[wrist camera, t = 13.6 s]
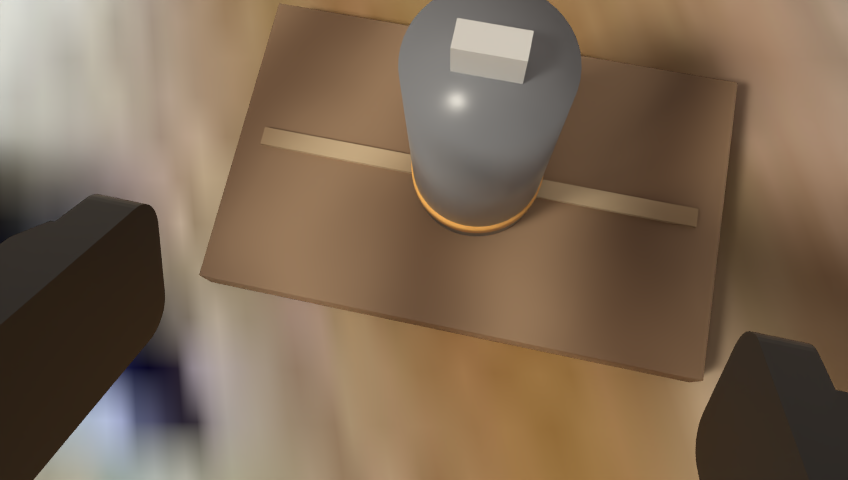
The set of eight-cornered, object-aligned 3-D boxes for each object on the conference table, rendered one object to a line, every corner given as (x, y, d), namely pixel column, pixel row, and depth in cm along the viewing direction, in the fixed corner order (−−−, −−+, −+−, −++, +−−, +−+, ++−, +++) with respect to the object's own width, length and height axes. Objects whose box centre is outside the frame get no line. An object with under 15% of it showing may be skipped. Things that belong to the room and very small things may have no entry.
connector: (549, 130, 23) (606, -31, 14) (527, 249, 22) (576, 150, 13) (427, 108, 23) (415, -62, 15) (401, 224, 22) (372, 112, 14)
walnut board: (723, 98, 24) (739, 80, 23) (689, 382, 22) (704, 380, 21) (286, 22, 26) (278, 0, 24) (211, 281, 23) (197, 274, 22)
